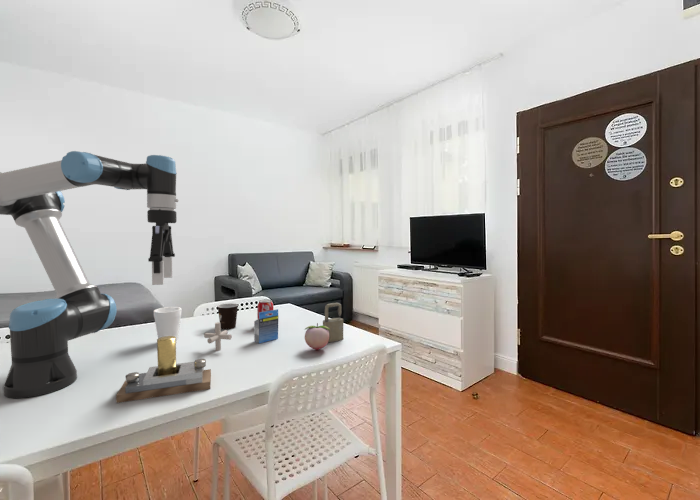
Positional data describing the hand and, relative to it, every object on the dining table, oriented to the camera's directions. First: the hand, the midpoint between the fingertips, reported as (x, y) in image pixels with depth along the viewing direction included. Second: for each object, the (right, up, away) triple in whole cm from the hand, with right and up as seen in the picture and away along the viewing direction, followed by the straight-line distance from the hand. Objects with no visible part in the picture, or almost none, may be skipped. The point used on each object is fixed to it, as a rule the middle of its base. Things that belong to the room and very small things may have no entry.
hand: (163, 280), depth 101 cm
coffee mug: (+2, -26, +49) cm, 55 cm away
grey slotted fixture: (+5, -27, -8) cm, 29 cm away
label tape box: (+23, -27, +34) cm, 49 cm away
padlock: (+49, -27, +34) cm, 66 cm away
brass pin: (+5, -27, -7) cm, 29 cm away
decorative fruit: (+44, -28, +23) cm, 57 cm away
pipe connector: (+8, -28, +22) cm, 36 cm away
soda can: (+18, -26, +52) cm, 61 cm away
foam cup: (-14, -27, +30) cm, 43 cm away
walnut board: (+5, -29, -7) cm, 30 cm away
